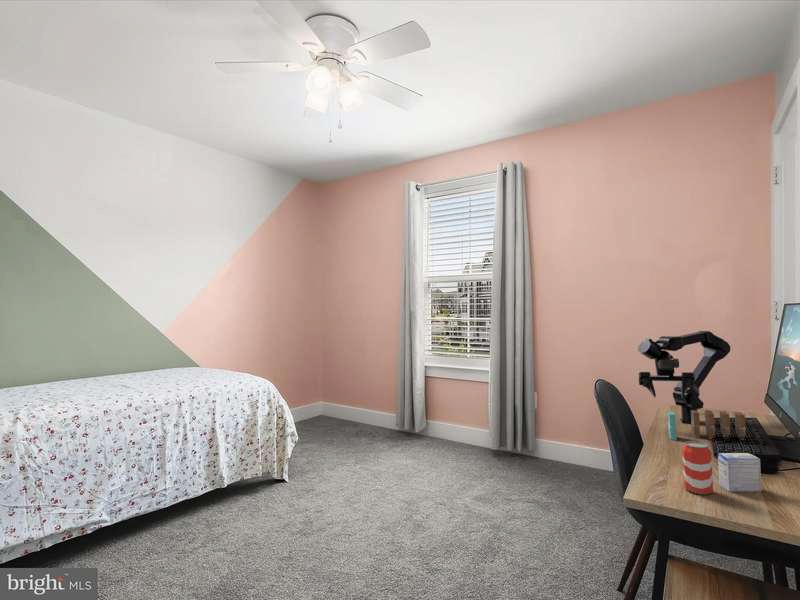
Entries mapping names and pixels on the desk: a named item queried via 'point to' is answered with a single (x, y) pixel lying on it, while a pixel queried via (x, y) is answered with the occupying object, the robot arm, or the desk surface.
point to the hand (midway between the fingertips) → (669, 397)
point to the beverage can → (697, 467)
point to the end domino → (672, 425)
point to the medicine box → (739, 472)
